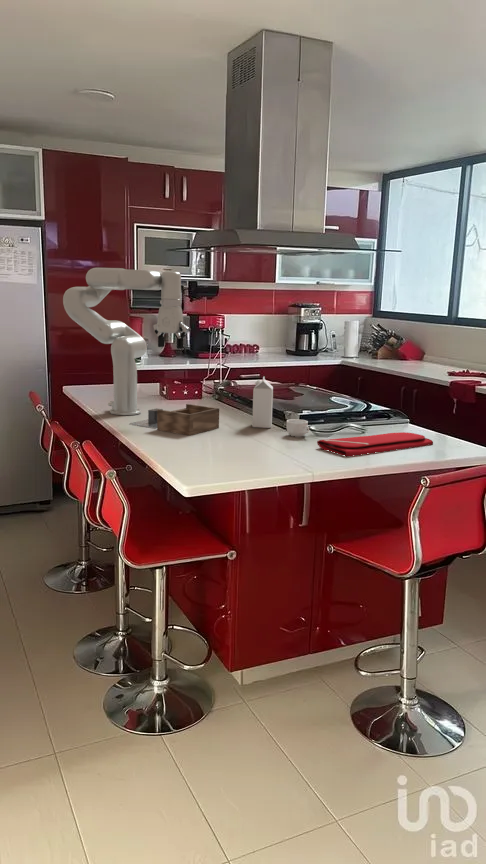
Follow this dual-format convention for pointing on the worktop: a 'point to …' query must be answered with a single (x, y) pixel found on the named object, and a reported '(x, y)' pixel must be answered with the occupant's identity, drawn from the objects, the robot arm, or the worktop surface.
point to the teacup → (297, 427)
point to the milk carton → (262, 404)
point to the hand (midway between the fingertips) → (170, 347)
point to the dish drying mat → (374, 443)
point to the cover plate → (145, 424)
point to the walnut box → (188, 419)
